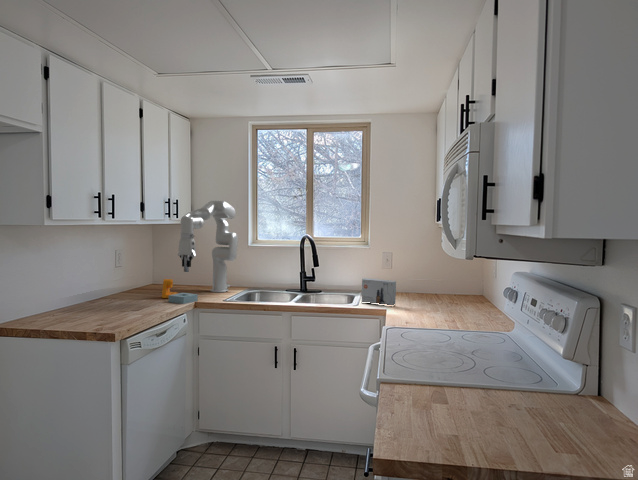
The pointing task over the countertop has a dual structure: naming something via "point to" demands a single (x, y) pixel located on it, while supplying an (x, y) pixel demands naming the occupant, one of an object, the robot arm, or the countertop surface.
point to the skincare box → (378, 291)
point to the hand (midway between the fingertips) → (186, 266)
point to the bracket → (167, 288)
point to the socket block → (183, 298)
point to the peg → (185, 264)
